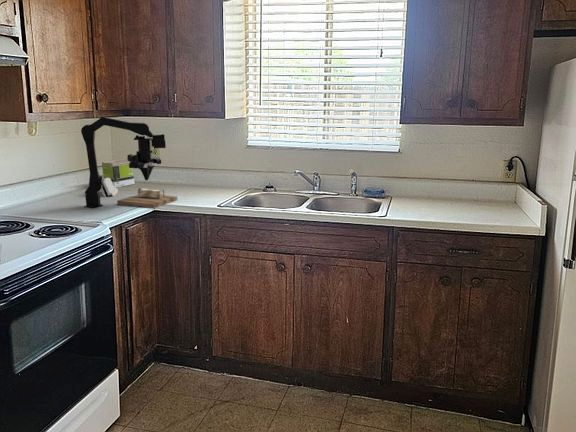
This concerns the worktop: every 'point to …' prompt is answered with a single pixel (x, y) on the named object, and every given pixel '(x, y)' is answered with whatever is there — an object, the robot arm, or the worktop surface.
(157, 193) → the leg
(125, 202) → the seat board
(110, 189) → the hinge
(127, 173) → the tea box
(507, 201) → the worktop surface
